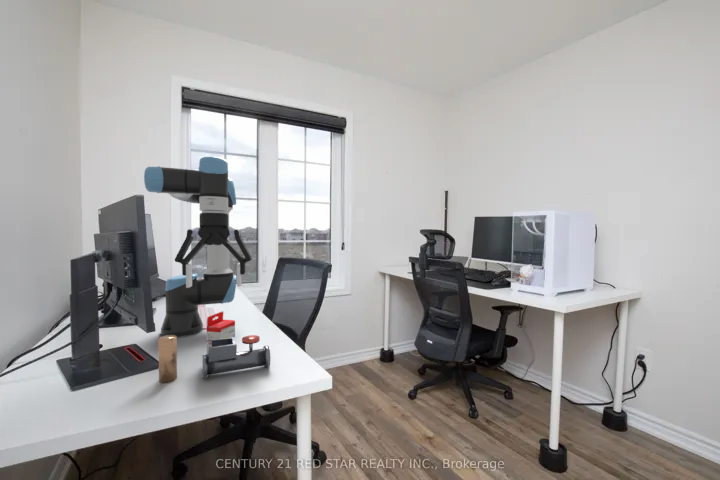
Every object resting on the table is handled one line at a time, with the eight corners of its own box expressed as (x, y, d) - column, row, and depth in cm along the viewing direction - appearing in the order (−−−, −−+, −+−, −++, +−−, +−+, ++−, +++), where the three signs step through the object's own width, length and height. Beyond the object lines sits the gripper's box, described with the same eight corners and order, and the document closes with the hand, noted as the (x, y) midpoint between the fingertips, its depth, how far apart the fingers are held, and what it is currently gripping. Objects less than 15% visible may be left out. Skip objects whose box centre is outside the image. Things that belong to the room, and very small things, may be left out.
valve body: (202, 383, 88) (202, 348, 88) (202, 372, 95) (202, 340, 94) (270, 371, 96) (270, 339, 96) (266, 361, 103) (266, 332, 102)
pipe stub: (159, 377, 91) (159, 336, 91) (177, 374, 93) (177, 334, 93) (157, 384, 87) (157, 341, 87) (176, 381, 89) (175, 338, 89)
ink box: (220, 364, 101) (219, 318, 100) (206, 363, 102) (205, 317, 101) (235, 354, 109) (235, 311, 108) (222, 352, 110) (222, 310, 109)
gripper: (160, 211, 86) (161, 289, 86) (257, 212, 90) (257, 287, 91) (171, 212, 93) (172, 285, 94) (260, 213, 98) (261, 283, 98)
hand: (214, 286), depth 92 cm, fingers open, 13 cm apart
